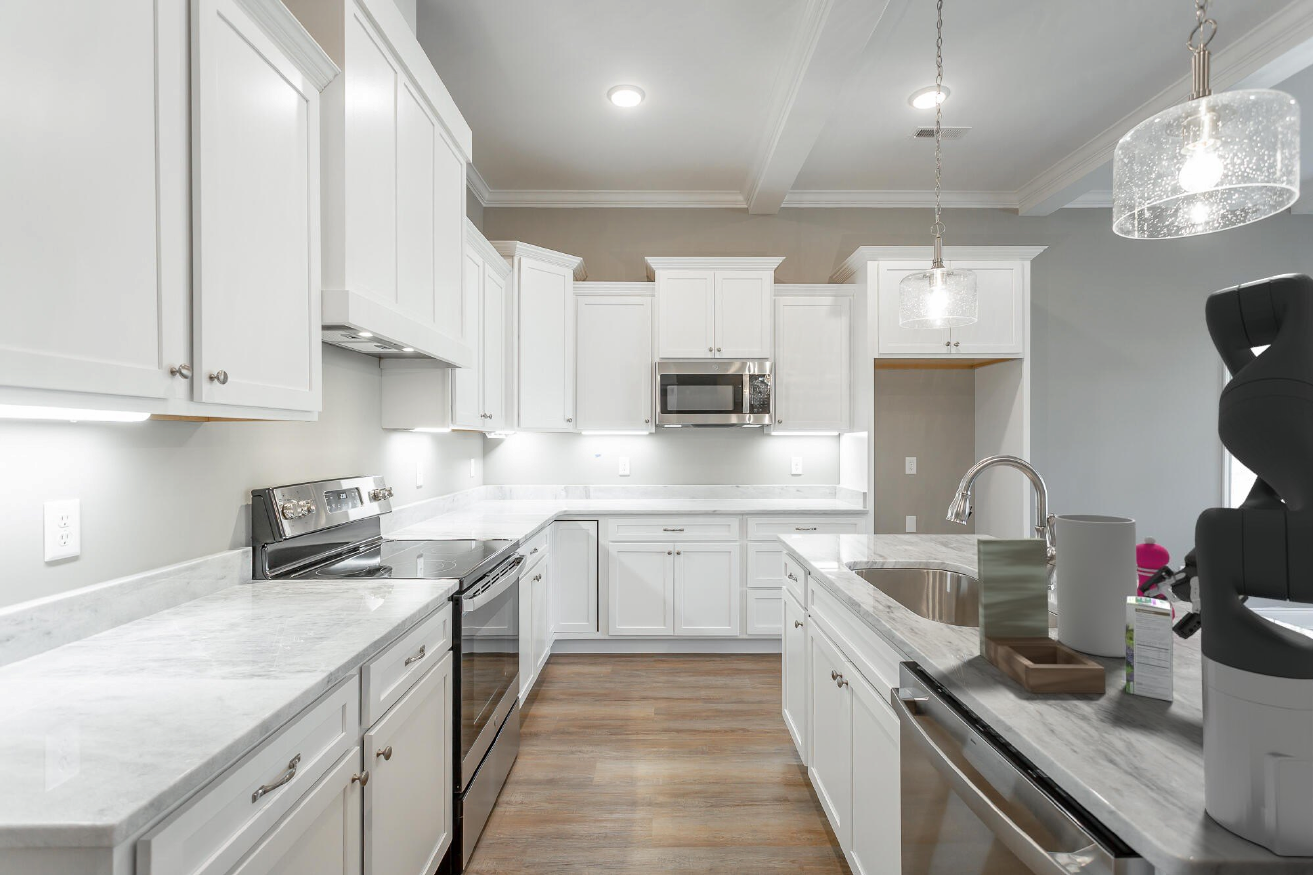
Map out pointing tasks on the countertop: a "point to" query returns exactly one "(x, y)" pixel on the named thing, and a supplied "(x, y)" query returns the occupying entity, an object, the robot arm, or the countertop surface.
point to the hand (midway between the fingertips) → (1156, 625)
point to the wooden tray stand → (1026, 620)
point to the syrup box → (1149, 648)
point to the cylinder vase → (1094, 581)
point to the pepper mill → (1150, 563)
